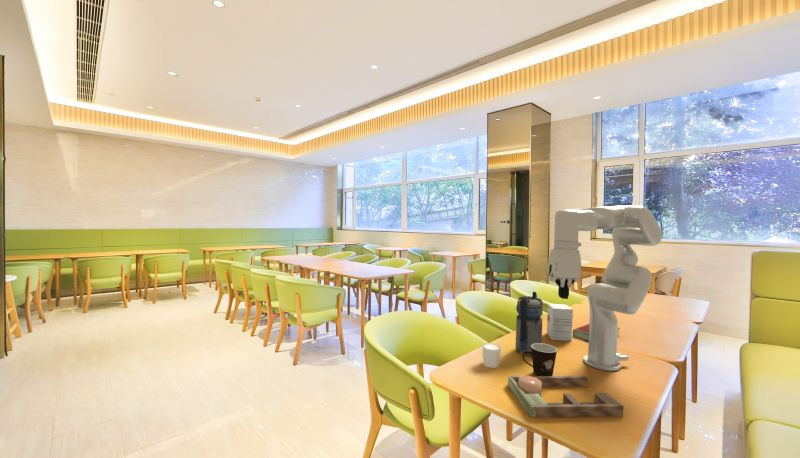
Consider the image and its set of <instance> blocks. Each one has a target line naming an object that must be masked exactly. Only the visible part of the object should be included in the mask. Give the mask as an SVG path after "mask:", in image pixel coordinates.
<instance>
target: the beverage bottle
mask: <svg viewBox="0 0 800 458" xmlns="http://www.w3.org/2000/svg"><path fill="white" fill-rule="evenodd" d="M531 295H532V296H531ZM531 295H529V296H525V295H524V296H519V297H518V300H517V301H516V302H517V303H516V308H515V310H516V312H517V313H518V314H517V315H516V318H515V319H516V322H515V324H516V325H515V350H516V351H517V352H518V353H519V354H522V355H523V353H524V352H526V351H529V352H532V350H531V345H532V344H535V343H542V341H543V340H542V338H543V318H542V315H543V311H544V305H543V303H544V301H543V300H542V298H539V297H538V295H537V291H532V294H531ZM524 356H530V357H532V355H531V354H530V353H526V354H525V355H524Z"/></svg>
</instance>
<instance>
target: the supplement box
mask: <svg viewBox="0 0 800 458" xmlns="http://www.w3.org/2000/svg"><path fill="white" fill-rule="evenodd" d="M573 313H574V309H572V308H571V306H569V305H567V304H562V303H559V304H558V303H547V317H546V319H547V320H546V322H547V323H546V334H547V335H548V337H549V338H550V339H551V340H552V341H566V342H567V341H568V342H572V340H573V339H572V338H573V337H572V336H573V317H574V314H573Z"/></svg>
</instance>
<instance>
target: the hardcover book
mask: <svg viewBox="0 0 800 458" xmlns="http://www.w3.org/2000/svg"><path fill="white" fill-rule="evenodd" d="M620 329H621V327H618V332H617V336H619V331H620ZM572 336H573V337H576V338H579V339H583V340H586V341H589V323H588V324H585V325H581V326H579V327H576V328H573V329H572Z"/></svg>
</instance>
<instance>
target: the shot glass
mask: <svg viewBox="0 0 800 458" xmlns="http://www.w3.org/2000/svg"><path fill="white" fill-rule="evenodd" d="M481 348H482V358H483V359H482V363H483V365H484V366H485V367H487V368H494V369H495V368H498V367H499V365H500V356H501V349H502V347H501V346H500V345H498V344H494V343H484V344H483V345H482V347H481Z"/></svg>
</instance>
